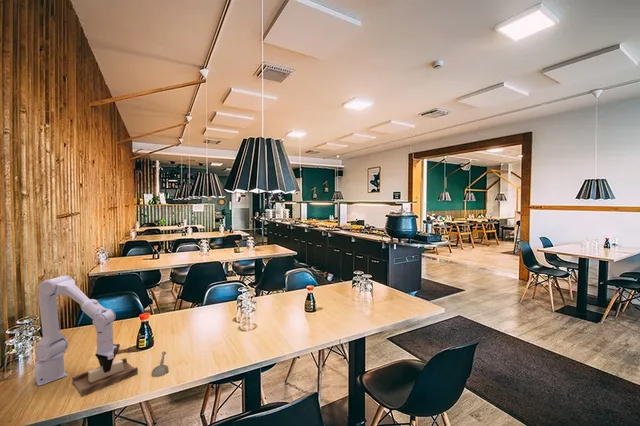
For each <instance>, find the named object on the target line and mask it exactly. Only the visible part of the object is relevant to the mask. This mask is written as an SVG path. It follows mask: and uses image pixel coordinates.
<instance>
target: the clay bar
mask: <svg viewBox="0 0 640 426" xmlns="http://www.w3.org/2000/svg"><path fill="white" fill-rule="evenodd" d="M120 371H123V361H122V360H121V359H118V360H114V361H113V362H112V366H111V370H110V371H109V372H106V373H104V371H103V366H101V367H100V366H98V367H95V368H92V369H90V370H87V372H88V380H89V382H90V383H92V382H94V381H97V380H99V379H102V378H105V377H107V376H110V375H112V374H115V373H118V372H120Z"/></svg>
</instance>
